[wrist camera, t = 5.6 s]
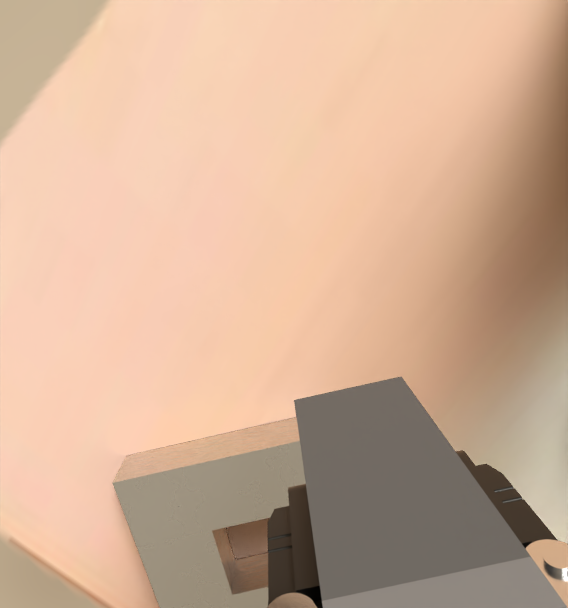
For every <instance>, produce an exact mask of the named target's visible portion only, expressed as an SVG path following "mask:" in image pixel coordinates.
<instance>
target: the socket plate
mask: <svg viewBox="0 0 568 608" xmlns="http://www.w3.org/2000/svg"><path fill="white" fill-rule="evenodd" d="M302 484H306V482H305V475H304V467H303V460H302V453H301V446H300V438H299V431H298V424H297V417H296V418H291V419H287V420H283V421H278V422H274V423H269V424H265V425H260V426H256V427H251V428H247V429H243V430H238V431H234V432H229V433H225V434H220V435H216V436H211V437H207V438H203V439H198V440H194V441H189V442H185V443H180V444H176V445H172V446H167V447H163V448H158V449H154V450H149V451H145V452H140V453H136V454H132V455H127V456H126V458H125V460H124V462H123V464H122V466H121V467H120V469H119V471H118V473H117V475H116V477H115V479H114V481H113V485H114V488H115V491H116V493H117V496H118V499H119V501H120V504H121V507H122V509H123V512H124V514H125V517H126V520H127V522H128V525H129V528H130V530H131V533H132V536H133V538H134V541H135V544H136V546H137V549H138V552H139V554H140V557H141V559H142V562H143V565H144V567H145V570H146V573H147V575H148V578H149V581H150V583H151V586H152V589H153V591H154V594H155V597H156V599H157V602H158V604H159V607H160V608H267V607H268V553H264V554H260V555H255V556H251V557H246V558H242V559H237V560H235V559H234V556H233V552H232V549H231V546H230V543H229V539H228V536H227V533H226V530H225V528H226V527H230V526H235V525H239V524H244V523H248V522H253V521H257V520H262V519H266V518H270V517H271V515H272V513H273V511H274V509H276V508H281V507H285V506H289V498H288V487H293V486H297V485H302Z"/></svg>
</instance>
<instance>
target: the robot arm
mask: <svg viewBox="0 0 568 608" xmlns="http://www.w3.org/2000/svg"><path fill="white" fill-rule="evenodd" d="M456 453H457V455H458V456H459V457H460V459H461V460H462V462H463V463H464V464H465V466H466V467H467V468H468V470H469V471H470V473H471V474H472V475H473V477H474V478H475V480H476V481H477V482H478V484H479V485H480V487H481V488H482V489H483V491H484V492H485V493H486V495H487V496H488V498H489V499H490V500H491V502H492V503H493V505H494V506H495V507H496V509H497V510H498V511H499V513H500V514H501V516H502V517H503V518H504V520H505V521H506V523H507V524H508V525H509V527H510V528H511V530H512V531H513V532H514V534H515V535H516V536H517V538H518V539H519V541H520V542H521V543H522V545H523V546H524V548H525V549H526V550H527V552H528V553H529V555H530V556H531V557H532V559H533V560H534V561H535V563H536V564H537V566H538V567H539V568H540V570H541V571H542V573H543V574H544V575H545V577H546V578H547V580H548V581H549V582H550V584H551V585H552V586H553V588H554V589H555V591H556V592H557V593H558V595H559V596H560V598H561V599H562V600H563V602H564V603H565V604H566V606H567V608H568V544H567V543H564V542H561V541H558V540H557V539H556V538H555V537H554V535H553V534H552V533H551V532H550V531H549V529H548V528H547V527H546V526H545V525H544V523H543V522H542V521H541V520H540V518H539V517H538V516H537V515H536V514H535V512H534V511H533V510H532V509H531V508H530V506H529V505H528V504H527V503H526V502H525V500H523V499H522V497H521V496H520V494H519V493H518V492H517V491H516V490H515V489H514V488H513V486H512V485H511V483H510V482H509V481H508V480H507V479H506V477H505V476H504V475H503V474H502V473H501V472H499V471H497V470H496V469H494V468H492V467H491V466H489V465H487V464H483V465H478V466H475V465H474V463H473V462H472V461H471V459H470V458H469V457H468V456H467V454H466V453H465V452H464V451H463V450H461V451H457V452H456ZM288 498H289V506H285V507H281V508H276V509H274V511H273V513H272V515H271V517H270V519H269V521H268V607H267V608H323V605H322V598H321V590H320V583H319V576H318V569H317V561H316V554H315V547H314V540H313V532H312V525H311V518H310V511H309V504H308V496H307V489H306V484H302V485H297V486H293V487H288Z"/></svg>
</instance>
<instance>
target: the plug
mask: <svg viewBox="0 0 568 608" xmlns="http://www.w3.org/2000/svg"><path fill="white" fill-rule="evenodd" d="M294 402H295V410H296V417H297V424H298V431H299V438H300V446H301V453H302V460H303V467H304V475H305V482H306V489H307V496H308V504H309V511H310V518H311V525H312V532H313V540H314V547H315V554H316V561H317V569H318V576H319V583H320V590H321V598H322V605H323V608H567V606H566V604H565V603H564V602H563V600H562V599H561V598H560V596H559V595H558V593H557V592H556V591H555V589H554V588H553V586H552V585H551V584H550V582H549V581H548V580H547V578H546V577H545V575H544V574H543V573H542V571H541V570H540V568H539V567H538V566H537V564H536V563H535V561H534V560H533V559H532V557H531V556H530V555H529V553H528V552H527V550H526V549H525V548H524V546H523V545H522V543H521V542H520V541H519V539H518V538H517V536H516V535H515V534H514V532H513V531H512V530H511V528H510V527H509V525H508V524H507V523H506V521H505V520H504V518H503V517H502V516H501V514H500V513H499V511H498V510H497V509H496V507H495V506H494V505H493V503H492V502H491V500H490V499H489V498H488V496H487V495H486V493H485V492H484V491H483V489H482V488H481V487H480V485H479V484H478V482H477V481H476V480H475V478H474V477H473V475H472V474H471V473H470V471H469V470H468V468H467V467H466V466H465V464H464V463H463V462H462V460H461V459H460V457H459V456H458V455H457V453H456V452H455V450H454V449H453V448H452V446H451V445H450V443H449V442H448V441H447V439H446V438H445V437H444V435H443V434H442V432H441V431H440V430H439V428H438V427H437V425H436V424H435V423H434V421H433V420H432V419H431V417H430V416H429V414H428V413H427V412H426V410H425V409H424V407H423V406H422V405H421V403H420V402H419V400H418V399H417V398H416V396H415V395H414V394H413V392H412V391H411V389H410V388H409V387H408V385H407V384H406V382H405V381H404V380H403V378H402V377H397V378H393V379H388V380H384V381H379V382H375V383H370V384H365V385H361V386H356V387H352V388H347V389H343V390H338V391H334V392H329V393H325V394H320V395H315V396H311V397H306V398H302V399H297V400H294Z"/></svg>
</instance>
